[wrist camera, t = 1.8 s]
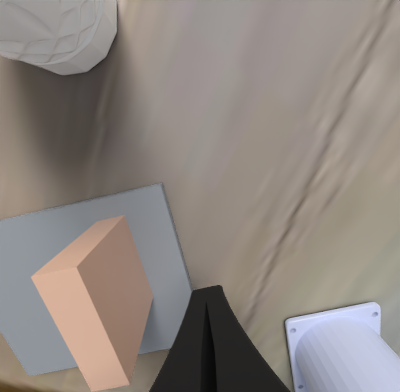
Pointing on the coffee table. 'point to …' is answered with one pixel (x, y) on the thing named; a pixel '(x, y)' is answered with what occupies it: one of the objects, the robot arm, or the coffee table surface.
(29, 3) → the white cup
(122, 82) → the coffee table surface
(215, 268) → the coffee table surface
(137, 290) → the block
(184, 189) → the coffee table surface
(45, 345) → the felt mat
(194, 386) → the robot arm
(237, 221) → the coffee table surface
